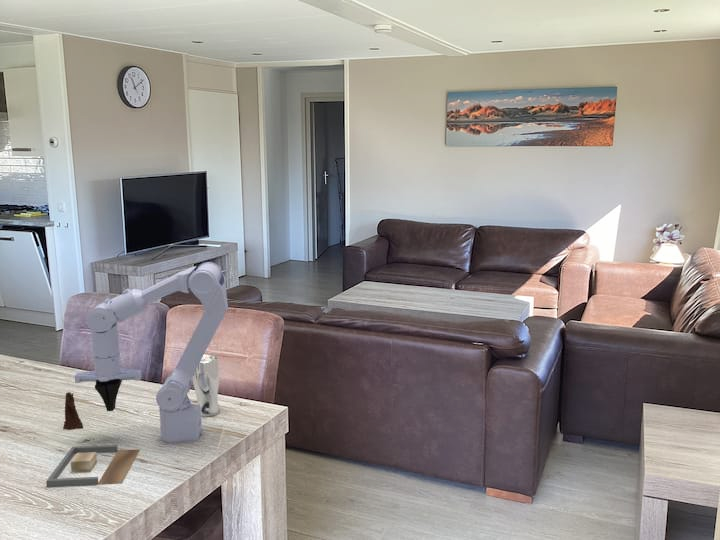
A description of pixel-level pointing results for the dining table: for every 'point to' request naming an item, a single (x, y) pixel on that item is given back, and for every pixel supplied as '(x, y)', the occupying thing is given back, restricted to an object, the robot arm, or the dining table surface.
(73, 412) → the chess piece
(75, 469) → the birch block
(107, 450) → the box
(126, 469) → the walnut board
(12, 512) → the dining table surface
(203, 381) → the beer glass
